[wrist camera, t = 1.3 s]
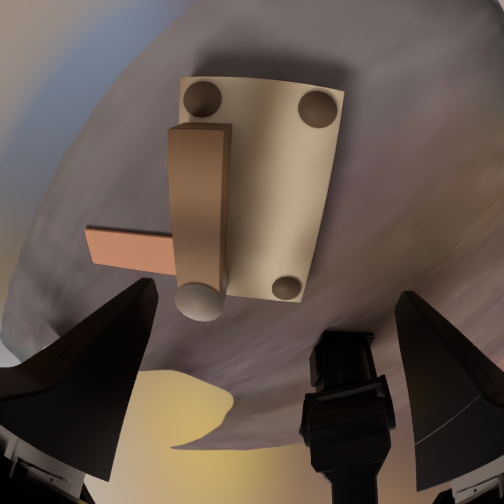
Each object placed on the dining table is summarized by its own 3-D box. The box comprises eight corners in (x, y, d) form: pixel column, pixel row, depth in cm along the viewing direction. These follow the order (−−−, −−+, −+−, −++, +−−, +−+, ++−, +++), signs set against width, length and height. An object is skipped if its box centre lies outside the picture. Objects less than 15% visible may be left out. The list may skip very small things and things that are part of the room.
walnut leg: (228, 295, 23) (222, 324, 20) (187, 290, 23) (177, 317, 20) (237, 123, 15) (229, 131, 12) (180, 122, 15) (161, 130, 12)
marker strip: (183, 237, 23) (182, 239, 22) (186, 274, 25) (185, 276, 25) (86, 228, 23) (84, 229, 23) (94, 261, 25) (93, 262, 25)
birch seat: (337, 91, 15) (345, 91, 13) (299, 287, 25) (300, 304, 23) (189, 78, 15) (179, 77, 13) (191, 275, 25) (185, 291, 23)
